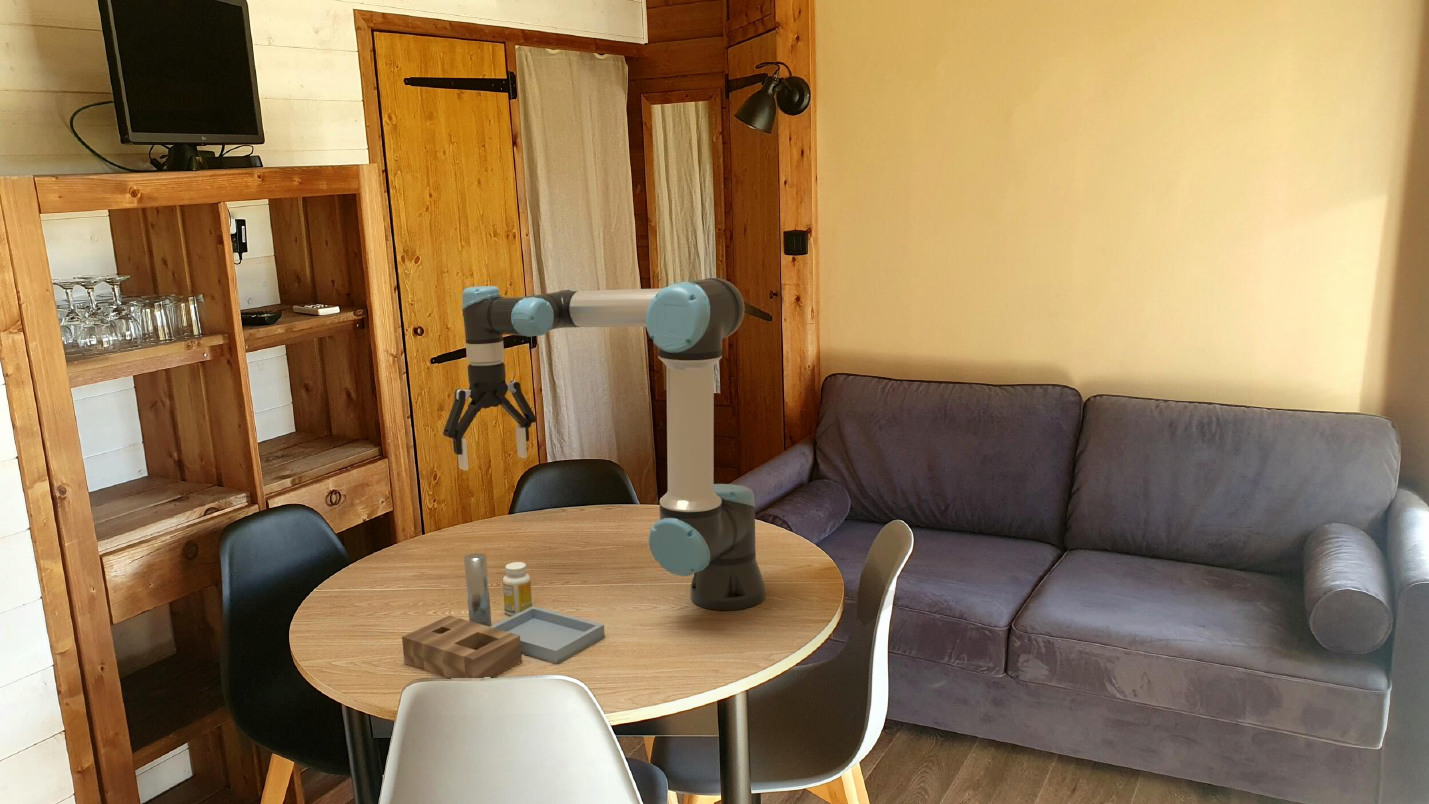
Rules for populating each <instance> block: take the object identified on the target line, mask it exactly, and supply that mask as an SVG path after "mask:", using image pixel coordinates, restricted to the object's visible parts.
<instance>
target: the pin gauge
mask: <svg viewBox="0 0 1429 804" xmlns="http://www.w3.org/2000/svg"><path fill="white" fill-rule="evenodd" d="M463 561H464V571H465V572H464V573H465V574H464V575H465V583H466V584H465V585H466V596H467V597H466V598H467V608H468V619H469V620H468V621H471V622H475V623H478V624H482V625H485V626H489V627H490V626H492V625H493V624H492V614H491V613H492V612H491V602H490V600H491V599H490V590H489V589H490V588H489V574H488V565H487V563H488V561H487V555H486V554H485V553H479V552H478V553H477V552H476V553H471V554H468V555H466V556H464V559H463Z"/></svg>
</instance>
